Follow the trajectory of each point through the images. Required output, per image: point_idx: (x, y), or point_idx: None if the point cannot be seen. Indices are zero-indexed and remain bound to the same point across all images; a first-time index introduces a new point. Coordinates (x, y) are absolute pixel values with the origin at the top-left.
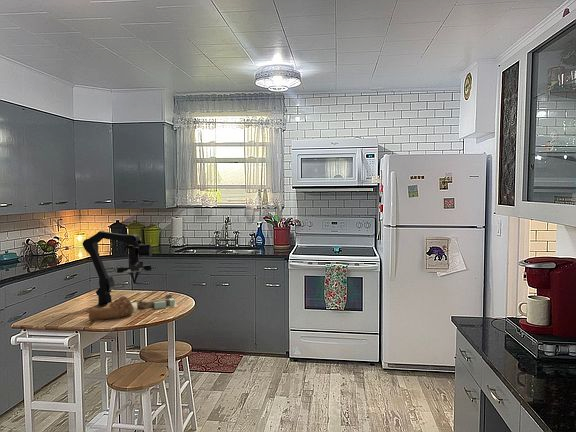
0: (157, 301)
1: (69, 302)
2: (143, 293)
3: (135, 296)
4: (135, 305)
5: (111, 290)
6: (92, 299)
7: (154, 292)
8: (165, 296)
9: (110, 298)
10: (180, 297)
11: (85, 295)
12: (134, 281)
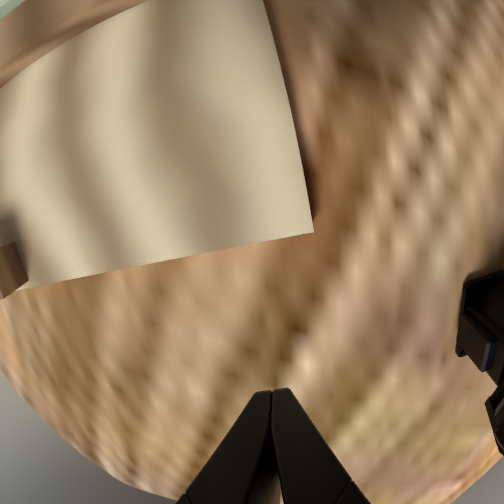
0: (26, 2)
1: None
2: None
3: None
4: (247, 89)
5: (487, 410)
6: None
7: None
8: (14, 288)
9: (482, 327)
10: (2, 350)
11: (487, 470)
12: (267, 420)
